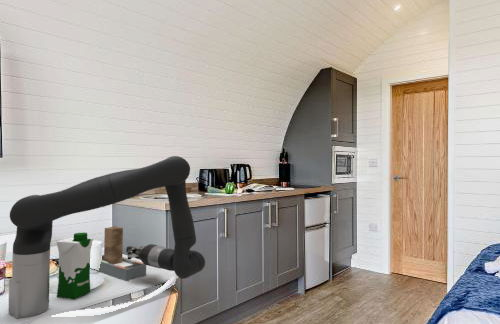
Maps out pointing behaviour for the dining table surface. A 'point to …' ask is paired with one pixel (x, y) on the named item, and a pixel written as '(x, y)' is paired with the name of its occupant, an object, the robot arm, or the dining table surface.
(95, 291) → the dining table surface
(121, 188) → the robot arm
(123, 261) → the tray
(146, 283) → the dining table surface
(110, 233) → the walnut block
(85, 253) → the milk carton
